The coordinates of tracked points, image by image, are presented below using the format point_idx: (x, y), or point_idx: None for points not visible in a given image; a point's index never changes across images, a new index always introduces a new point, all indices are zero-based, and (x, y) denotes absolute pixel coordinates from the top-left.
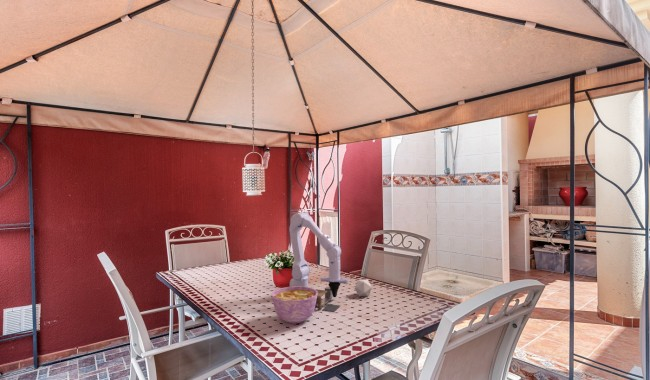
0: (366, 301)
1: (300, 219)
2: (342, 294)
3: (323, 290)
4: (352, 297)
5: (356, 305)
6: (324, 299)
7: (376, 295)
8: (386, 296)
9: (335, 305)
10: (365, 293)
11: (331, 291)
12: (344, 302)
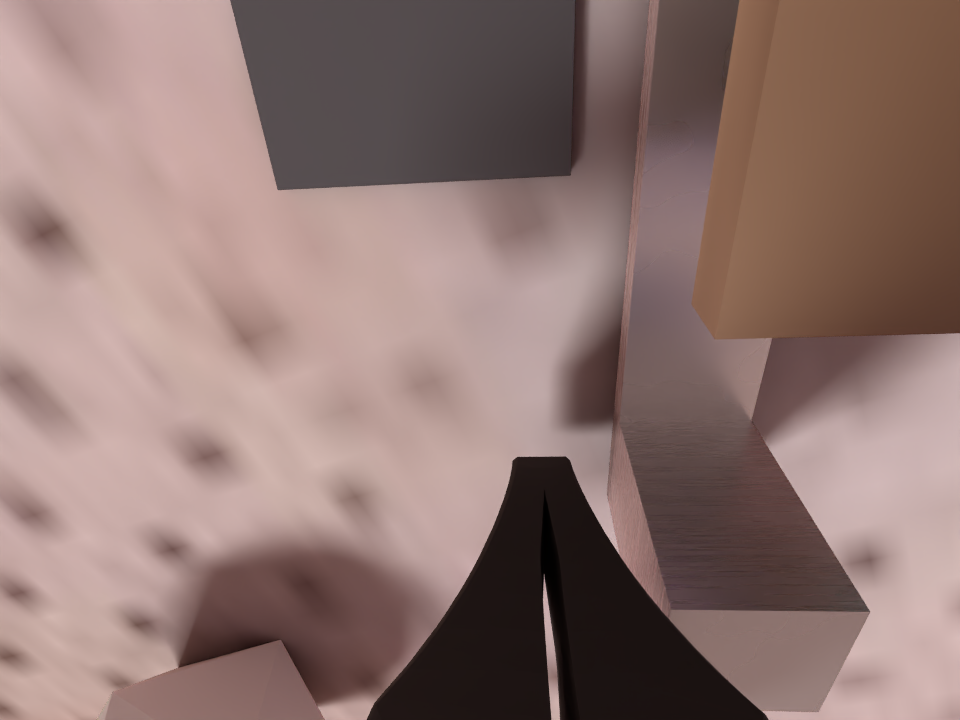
0: (66, 532)
1: None
2: None
3: (918, 299)
4: (335, 599)
5: (52, 343)
6: None
7: None
8: (13, 699)
9: (372, 145)
10: (128, 686)
11: (638, 579)
12: (327, 401)
